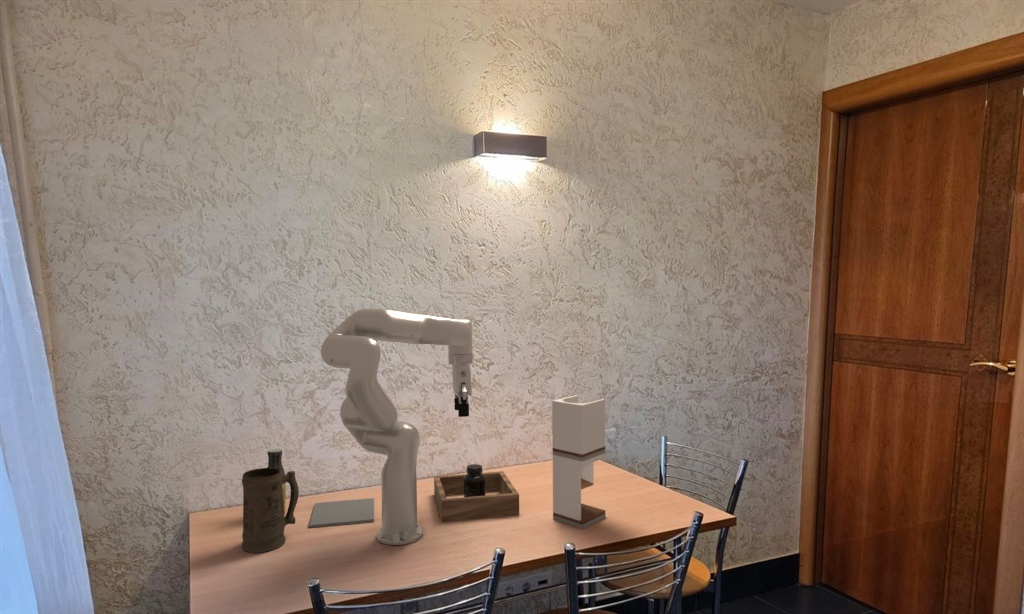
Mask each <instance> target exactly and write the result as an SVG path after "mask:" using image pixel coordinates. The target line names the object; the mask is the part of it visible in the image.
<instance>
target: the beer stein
mask: <svg viewBox="0 0 1024 614" xmlns="http://www.w3.org/2000/svg"><path fill="white" fill-rule="evenodd" d="M285 482H286V483H288V484H289V486H290V487H289V488H290V496H289V497H290V498H289V503H288V509H287V511H286V513H285V514H284V495H283V491H282V485H283V484H284V483H285ZM241 484H242V488H243V489H242V490H243V492H242V493H243V494H242V495H243V498H242V501H243V504H242V505H243V507H242V525H243V526H242V536H241V537H242V543H241V548H242V550H243V551H245V552H247V553H251V554H252V553H253V554H256V553H257V554H261V553H267V551H268V552H270V551H273V550H277V549H279V548H280V547H282V546H283V545H284V544H285V543H286V537H285V527H286V526H288V525H295V524H296V522H297V521H296V517H295V515H294V512H295V509H296V506H297V504H298V501H299V494H300V493H299V486H298V485H299V484H298V482H297V479H296V472H295V470H292V471H291V470H289V471H287V473H285V475H284V476H282V472H281V470H280V469H277V468H267V467H261V468H255V469H251V470H247V471H245V472H244V473H243V474H242V478H241ZM276 548H277V549H276Z"/></svg>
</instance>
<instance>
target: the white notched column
mask: <svg viewBox="0 0 1024 614" xmlns="http://www.w3.org/2000/svg"><path fill="white" fill-rule="evenodd" d="M551 403H552V404H551V405H552V407H551V408H552V410H551V412H552V413H551V414H552V416H551V417H552V418H551V419H552V421H551V423H552V425H551V427H552V429H551V430H552V432H551V433H552V520H555V521H556V522H557V521H558V522H560V523H563V524H566V525H569V526H571V527H575V528H579V529H581V530H583V529H585V528H587V527H590V526H591V525H593V524H595V523H597V522H599V521H601V520H603V519H605V518H606V510H605V509H602V508H598V507H596V506H592V505H588V504H585V503H582V490H584V489H587V488H589V487H592V486H594V485H595V484H594V480H595V479H594V477H595V476H594V471H595V470H594V467H595V466H594V462H598V461H600V460H602V459H605V458H606V399H604V398H601V399H597V400H593V401H589V402H581V403H579V395H576V394H575V395H572V396H566V397H562V398H558V399H554V400H552V401H551Z"/></svg>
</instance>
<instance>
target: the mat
mask: <svg viewBox="0 0 1024 614" xmlns="http://www.w3.org/2000/svg"><path fill="white" fill-rule="evenodd" d="M374 519H375V498H374V497H372V498H370V497H369V498H360V499H347V500H337V501H336V500H335V501H326V502H315V503H314V507H313V511H312V514H311V517H310V521H309V526H308V527H309V529H310V528H311V527H314V528H321V527H320V526H325V527H333V526H332V525H335V526H341V525H340V524H346V525H353V524H352V523H357V524H366V523H365V522H367V523H374V522H375V521H374ZM350 523H351V524H350ZM311 529H312V528H311Z"/></svg>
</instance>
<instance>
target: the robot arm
mask: <svg viewBox="0 0 1024 614" xmlns="http://www.w3.org/2000/svg"><path fill="white" fill-rule="evenodd" d="M377 341H381V342H389V343H391V342H392V343H402V344H412V345H436V346H447V347H448V348H447V350H448V353H447V355H448V356H447V357H448V365H452V367H451V370H452V371H451V372H452V374H451V375H452V376H451V377H452V389H453V390H452V391H453V393H454V399H453V401H454V410H455V411H458V413H457V415H458V417H459V418H463V417H469V416H470V404H469V397H471V396H472V394H473V391H472V373H471V372H472V371H471V365H472V364H473V361H474V360H473V358H474V357H473V324H472V321H471V320H470V319H467V318H461V319H459V318H457V319H453V318H446V317H439V316H438V317H437V316H431V315H426V314H422V313H421V314H420V313H413V312H406V311H405V312H404V311H401V310H400V311H399V310H396V309H389V308H361V309H358V310H357V311H355V312H353V313H352V314H350V315H349V316H348V317H347V318H346V319H345V320H343V321H342V322H341V323H340V324H339V325H338V326H337V327H335V329H333V330H332V331H331V333H329V334H328V335H327V337H326V338H324V340H323V342H322V344H321V348H320V357H321V359H322V361H323V362H324V363H325V364H326V365H328V366H330V367H332V368H338V369H349V371H348V375H347V380H346V383H345V389H344V391H345V396H346V397H345V398H344V400H343V401H342V403H341V405H340V412H339V413H340V414H339V415H340V420H341V422H342V424H343V425H344V427H345V428H346V429H347V431H348V432H349V433H350V434H351V436H352V437H353V438H354V440H356V442H357V444H358V445H360V446H361V448H362V449H363V450H365V451H367V452H370V453H374V454H378V455H383V456H386V457H387V458H386V460H385V462H384V465H383V467H382V469H381V474H380V475H381V478H380V479H381V481H380V482H381V485H380V487H381V488H380V489H381V491H380V492H381V528H380V529H378V530H377V532H376V537H375V538H376V540H377V541H378V542H379V543H381V544H383V545H388V546H389V545H391V546H401V545H408V544H411V543H414V542H416V541H418V540H420V539H421V538H422V537H423V535H424V529H423V527H421V526H420V525H419V524H418V495H417V494H418V491H417V490H418V489H417V487H418V485H417V482H418V480H417V461H418V453H419V448H420V441H421V438H420V437H421V436H420V432H419V430H418V429H417V427H416V426H415V425H413V424H411V423H409V422H405V421H400V420H398V419H399V416H398V411H397V408H396V407H395V405H394V403H393V402H392V400H391V399H390V397H389V396H388V395H387V394H386V392H385V391H384V389H383V388H382V386H381V384H380V383H379V382H378V377H377V376H378V370H379V365H380V362H381V361H380V360H381V354H382V353H381V347H380V345H379V343H378V342H377Z"/></svg>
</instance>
